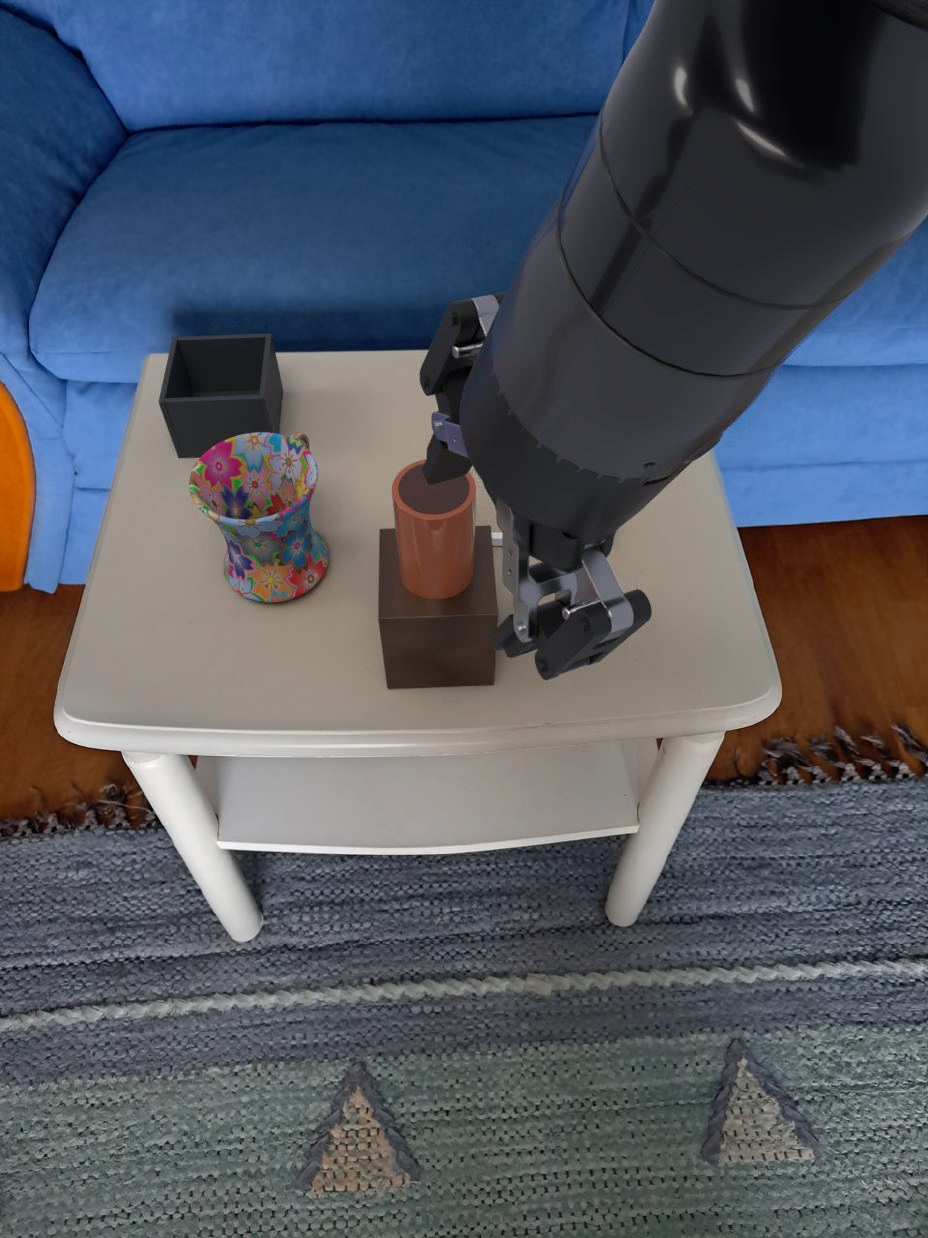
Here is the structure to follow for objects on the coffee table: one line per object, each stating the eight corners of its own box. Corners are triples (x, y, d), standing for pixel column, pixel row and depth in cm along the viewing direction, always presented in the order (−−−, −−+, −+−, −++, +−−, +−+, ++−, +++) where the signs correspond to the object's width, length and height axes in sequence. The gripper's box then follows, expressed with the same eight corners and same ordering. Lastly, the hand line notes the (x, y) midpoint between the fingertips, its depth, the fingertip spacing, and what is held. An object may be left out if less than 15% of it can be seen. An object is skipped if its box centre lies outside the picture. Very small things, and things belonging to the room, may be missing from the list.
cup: (414, 609, 58) (408, 528, 51) (388, 553, 61) (380, 470, 54) (485, 586, 59) (489, 504, 53) (458, 533, 62) (457, 449, 55)
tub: (178, 458, 79) (158, 401, 74) (190, 393, 84) (172, 336, 79) (277, 454, 79) (264, 397, 74) (283, 389, 85) (271, 332, 79)
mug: (302, 627, 68) (279, 537, 59) (199, 593, 70) (163, 501, 61) (367, 521, 75) (354, 426, 66) (271, 492, 77) (247, 397, 68)
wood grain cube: (387, 689, 65) (378, 618, 57) (387, 603, 69) (379, 528, 62) (494, 685, 65) (498, 614, 58) (487, 600, 70) (490, 524, 62)
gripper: (414, 176, 26) (349, 440, 41) (603, 614, 23) (458, 724, 38) (627, 148, 28) (491, 406, 43) (820, 541, 25) (603, 671, 40)
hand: (476, 555), depth 41 cm, fingers open, 8 cm apart
